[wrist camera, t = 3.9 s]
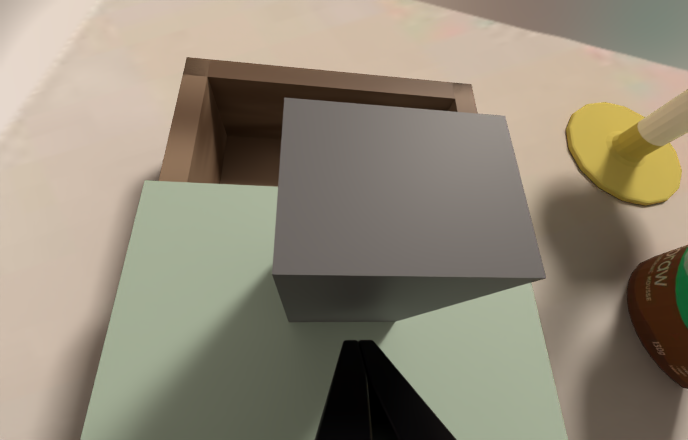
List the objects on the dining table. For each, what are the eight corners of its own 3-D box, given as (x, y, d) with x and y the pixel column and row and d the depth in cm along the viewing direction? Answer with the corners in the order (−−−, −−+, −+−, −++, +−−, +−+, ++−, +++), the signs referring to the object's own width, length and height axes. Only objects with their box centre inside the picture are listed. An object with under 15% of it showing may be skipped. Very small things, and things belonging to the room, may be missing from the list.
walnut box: (477, 460, 17) (563, 513, 11) (155, 480, 15) (71, 558, 9) (432, 144, 24) (471, 84, 19) (214, 129, 22) (186, 57, 17)
